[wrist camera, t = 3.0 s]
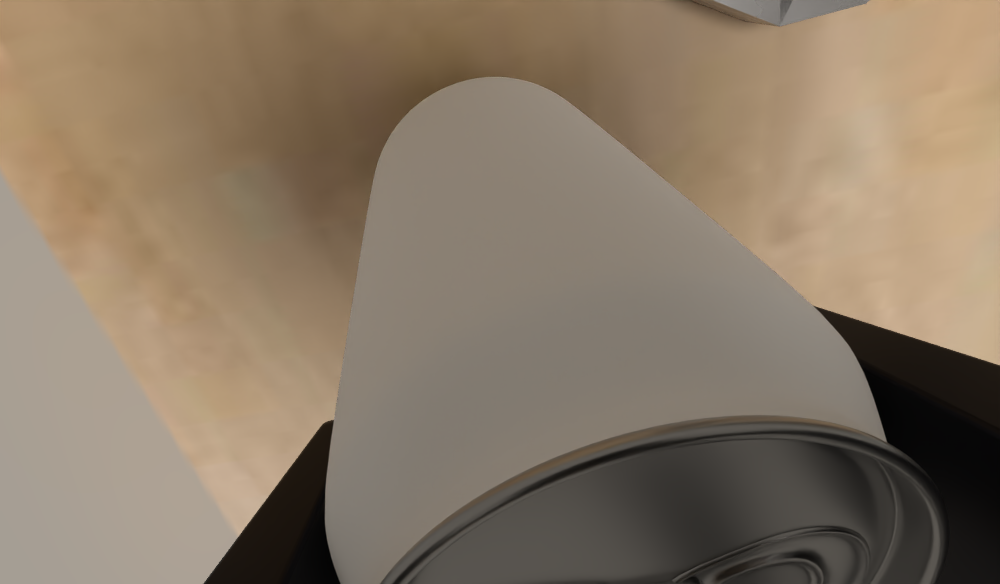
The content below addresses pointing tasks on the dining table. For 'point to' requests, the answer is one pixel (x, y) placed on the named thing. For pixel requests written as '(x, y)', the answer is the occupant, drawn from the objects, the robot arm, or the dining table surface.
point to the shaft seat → (778, 9)
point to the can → (594, 380)
